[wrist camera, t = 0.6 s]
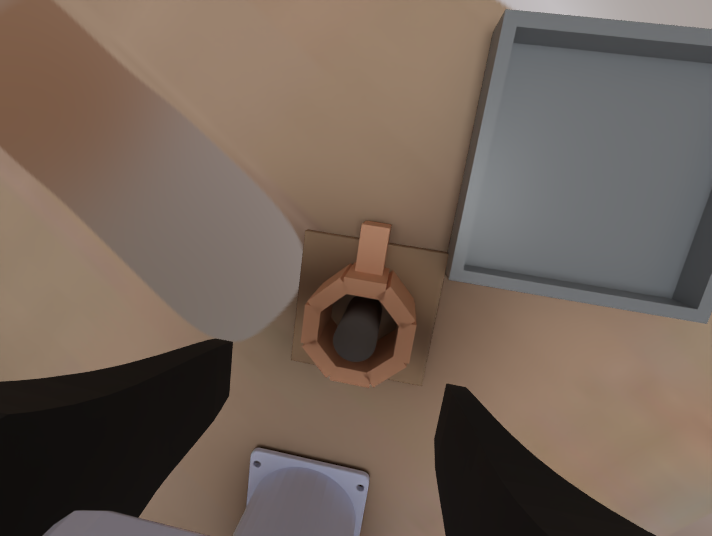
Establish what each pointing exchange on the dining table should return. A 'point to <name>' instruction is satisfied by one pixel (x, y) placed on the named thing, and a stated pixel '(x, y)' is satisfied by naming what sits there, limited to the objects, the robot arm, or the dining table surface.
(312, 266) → the stake
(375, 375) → the ring
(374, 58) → the dining table surface
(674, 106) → the tray
